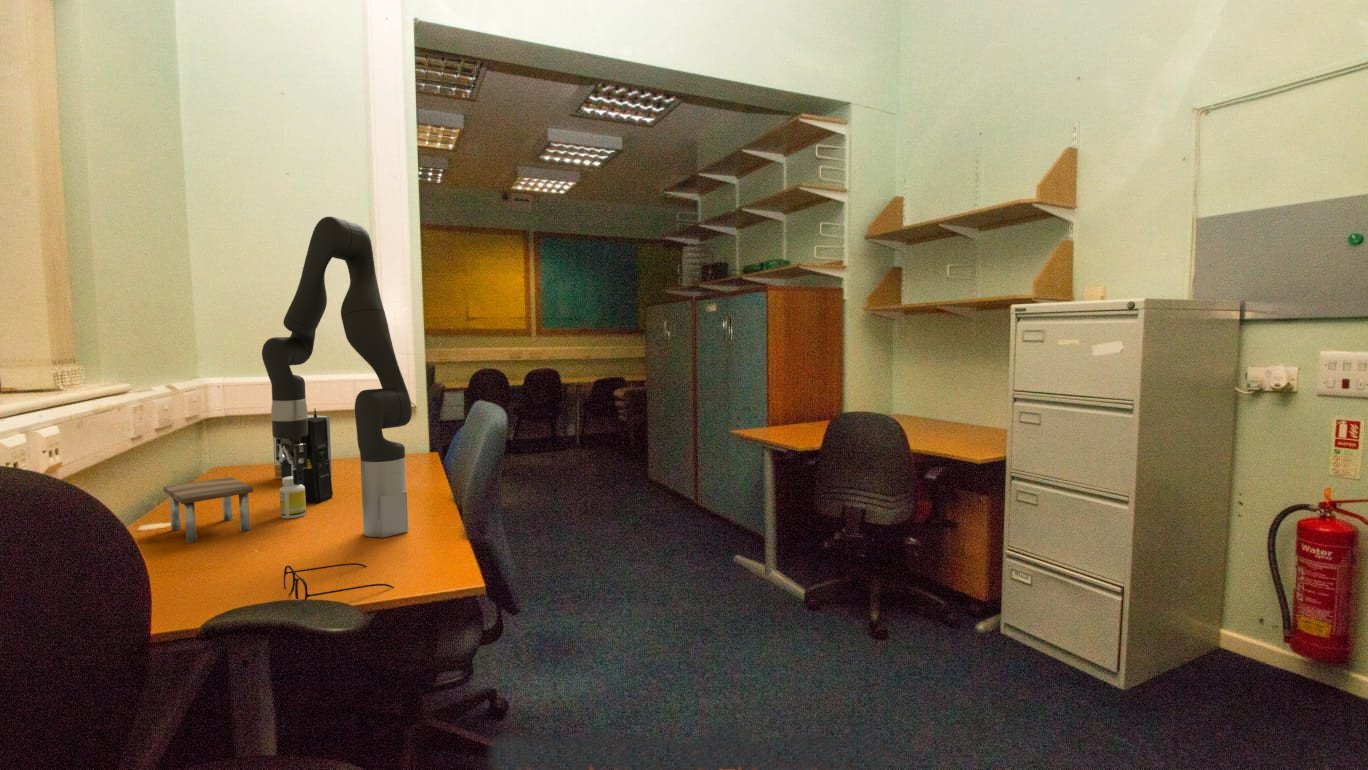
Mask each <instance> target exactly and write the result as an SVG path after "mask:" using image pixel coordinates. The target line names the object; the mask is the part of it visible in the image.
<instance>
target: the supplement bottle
mask: <svg viewBox="0 0 1368 770" xmlns="http://www.w3.org/2000/svg"><path fill="white" fill-rule="evenodd" d="M281 480H282V486H281V487H280V488H279V505H280V518H282V519H295V518H296V519H297V518H300V517H303V516H305V515H306V514H307V505H306V504H307V503H306V499H305V487H304V486H303V485H301V484H300V485H294V484H293V476H289V477H284V478H283V479H281Z"/></svg>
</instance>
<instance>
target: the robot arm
mask: <svg viewBox="0 0 1368 770" xmlns="http://www.w3.org/2000/svg"><path fill="white" fill-rule="evenodd" d="M332 258H333V259H336V260H342V261H344V262H345V263H346V266H347V269H348V274H349V287H348V290H347V292H346V294H345V296H344V299H343V301H342V303H341V308H340V317H341V321H342V326H343V329H344V334H345V338H346V340H347V342H348V343H349V345H350V346H351V347H352V348H353V350H355V351H356V353H357V354H358V355H359V356H360V357H361V358H362V359H363V360H364V361H365V362H366V363H367V364H368V365H369V366H370V368H372V370H373V371H374V373H375V374H376V377H377V379H378V380H379V383H380V386H381V388H372V389H363V390H361V391H359V393H358V394H357V395H356V398H355V402H354V418H355V426H356V427H355V428H356V440H357V445H358V450H359V454H360V455H359V456H360V478H361V479H360V480H361V481H360V483H361V502H362V503H361V505H362V526H363V528H362V529H363V535H364V536H366V537H369V538H370V537H371V538H380V539H384V538H387V537H392V536H395V535H399V534H403V533H408V532H409V519H408V517H409V516H408V513H409V512H408V492H407V478H406V477H407V475H406V472H407V471H406V448H405V445H404V444H403V443H401V442H395V441H391V440H388V439H386V438H385V437H384V434H383V433H384V432H383V430H384V429H392V428H399V427H404V426H407V425H408V424H409V423H410V421H411V420H412V414H413V409H412V408H413V407H412V402H411V401H412V400H411V398H410V394H409V391H408V389H407V386H406V385H407V384H406V383H405V379H404V376H403V375H402V374H403V373H402V372H401V368H400V367H399V366H400V365H399V363H398V360H397V356H396V353H395V350H394V346H393V342H392V336H391V333H390V328H389V324H388V319H387V315H386V313H385V312H386V311H385V308H384V306H383V301H382V298H381V293H380V292H381V291H380V289H379V283H378V279H377V274H376V273H377V272H376V268H375V267H376V265H375V260H374V259H375V258H374V251H373V246H372V240H371V236H370V234H369V232H368V230H367V229H366V228H365V227H364V226H362V225H359V224H357V223H355V222H351V221H348V220H345V219H343V218H342V219H341V218H338V217H334V216H325V217H322V218H320V220H319V221H318V222H317V223H316V224H315V227H314V229H313V232H312V234H311V237H310V239H309V244H308V248H307V252H306V255H305V259H304V264H303V267H302V272H301V277H300V280H299V283H298V286H297V290H296V292H295V294H294V297H293V299H292V301H291V303H290V305H289V307H288V309H287V311H286V314H285V315H284V318H283V321H282V322H283V326H284V327H285V328H286V330H287V331H289V332H291V335H289V336H284V337H282V336H280V337H279V336H278V337H277V336H276V337H269V338H268V339H267V340H266V341H265V342H264V344H263V345H262V348H261V357H262V362H263V364H264V367H265V370H266V373H267V376H268V378H269V381H270V384H271V400H272V402H271V409H270V410H271V411H270V412H271V413H270V414H271V430H272V431H271V432H272V433H271V434H272V437H274V438H276V460H277V461H279V464H281V465H280V466H281V478H282V479H283V478H284V477H289V476H292V471H291V465H292V469H293V484H294V485H300V484H304V469H305V468H306V467H308V459H307V445H306V443H303V444H302V443H301V440H300V438H301V437H304V436H306V435H307V434H308V416H307V415H308V406H307V400H306V382H305V378H304V377H302V376H301V375H296V374H294V373H293V371H292V368H291V366H299V365H304V364H305V363H307V361H308V360H309V359H310V358H311V356H312V354H313V352H314V345H315V338H316V332H317V331H316V330H317V328H318V326H319V324H320V322H321V320H322V318H323V316H324V314H325V312H326V308H327V303H328V297H327V289H326V282H325V281H326V280H325V275H326V270H327V267H328V265H329V264H330V262H331V260H332ZM299 462H300V463H299ZM289 463H291V464H289ZM282 479H281V480H282Z"/></svg>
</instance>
